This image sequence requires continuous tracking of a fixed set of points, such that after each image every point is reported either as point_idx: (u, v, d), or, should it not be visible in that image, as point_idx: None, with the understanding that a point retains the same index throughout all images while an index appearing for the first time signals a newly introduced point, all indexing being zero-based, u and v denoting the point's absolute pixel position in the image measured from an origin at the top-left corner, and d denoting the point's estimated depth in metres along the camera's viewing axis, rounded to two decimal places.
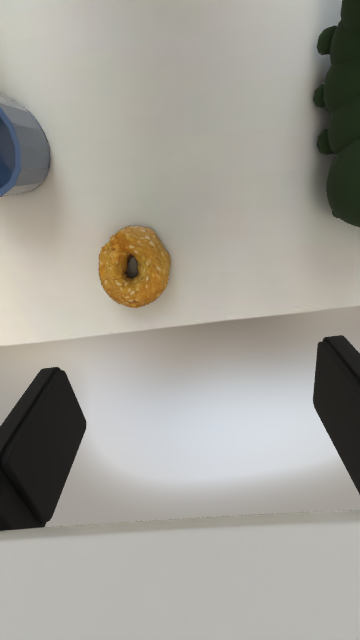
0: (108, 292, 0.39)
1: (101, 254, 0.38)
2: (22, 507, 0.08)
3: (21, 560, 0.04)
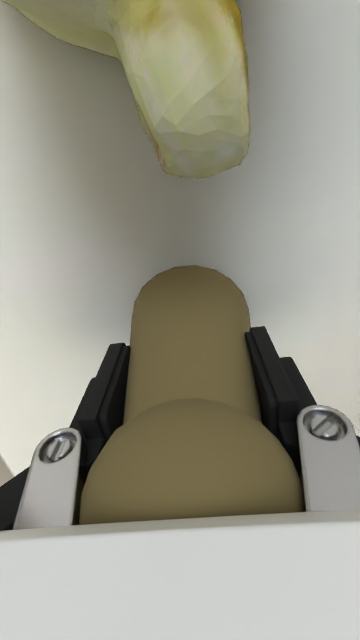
0: None
1: None
2: None
3: (21, 560, 0.04)
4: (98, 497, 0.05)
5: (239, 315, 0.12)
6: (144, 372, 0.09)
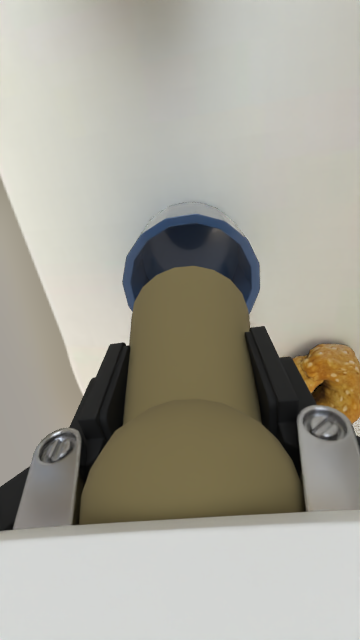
0: None
1: None
2: None
3: (21, 560, 0.04)
4: (98, 498, 0.05)
5: (238, 315, 0.12)
6: (144, 373, 0.09)
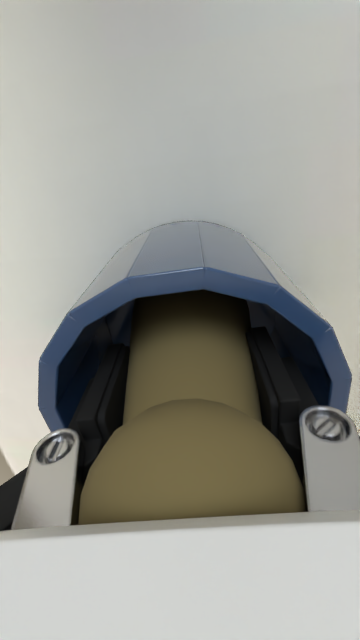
0: None
1: None
2: None
3: (21, 560, 0.04)
4: (97, 499, 0.05)
5: (239, 314, 0.12)
6: (144, 372, 0.09)
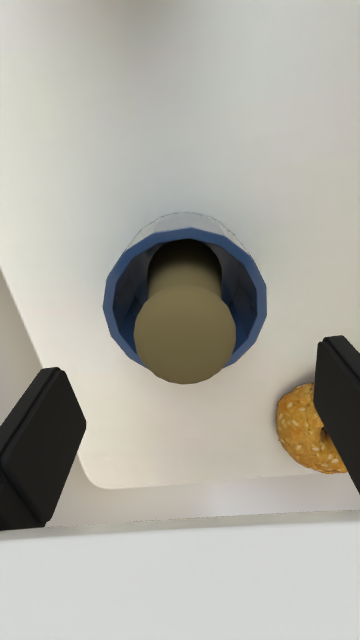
0: (295, 456, 0.28)
1: (294, 409, 0.27)
2: (22, 507, 0.08)
3: (21, 560, 0.04)
4: (145, 311, 0.13)
5: (212, 264, 0.20)
6: (159, 284, 0.17)
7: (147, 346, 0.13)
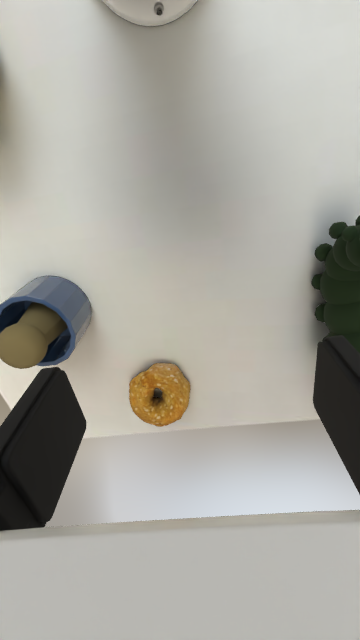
0: (137, 415, 0.46)
1: (132, 386, 0.44)
2: (22, 507, 0.08)
3: (21, 560, 0.04)
4: None
5: None
6: (19, 320, 0.34)
7: None
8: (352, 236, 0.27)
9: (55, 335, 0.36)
